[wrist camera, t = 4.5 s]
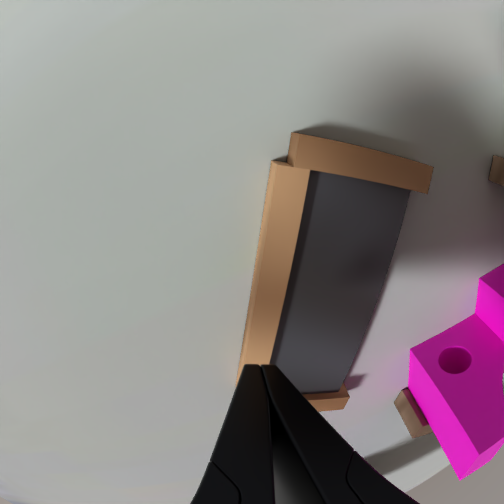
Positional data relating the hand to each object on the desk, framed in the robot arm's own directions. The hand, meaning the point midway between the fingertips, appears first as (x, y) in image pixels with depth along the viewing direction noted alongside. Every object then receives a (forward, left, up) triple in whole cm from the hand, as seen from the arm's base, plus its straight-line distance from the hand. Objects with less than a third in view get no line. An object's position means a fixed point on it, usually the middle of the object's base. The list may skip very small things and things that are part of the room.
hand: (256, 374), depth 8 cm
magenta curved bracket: (0, -16, -4) cm, 17 cm away
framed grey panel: (0, -14, -4) cm, 15 cm away
